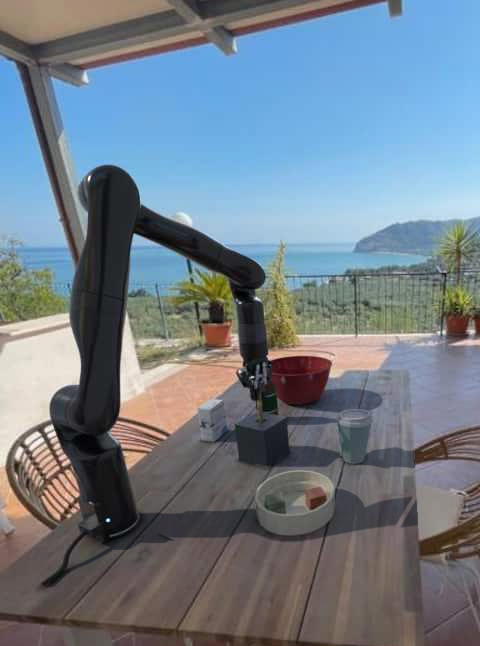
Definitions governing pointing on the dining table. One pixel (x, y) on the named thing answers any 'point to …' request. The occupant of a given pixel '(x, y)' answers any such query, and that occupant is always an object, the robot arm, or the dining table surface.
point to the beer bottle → (269, 399)
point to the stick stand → (262, 439)
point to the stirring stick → (260, 389)
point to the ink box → (212, 420)
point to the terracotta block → (315, 498)
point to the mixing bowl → (300, 378)
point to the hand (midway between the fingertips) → (258, 398)
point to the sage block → (275, 503)
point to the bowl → (295, 503)
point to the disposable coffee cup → (354, 434)
